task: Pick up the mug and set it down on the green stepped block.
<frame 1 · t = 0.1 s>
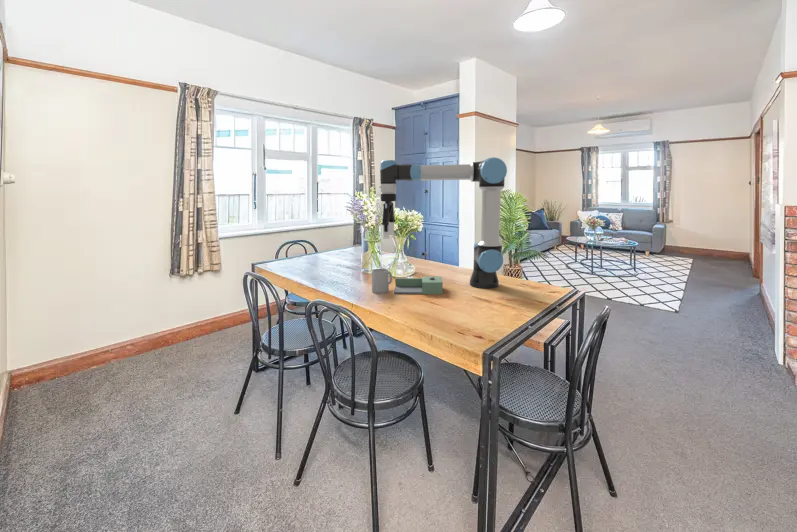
hand: (388, 236, 194), 28 cm above the table, fingers open, 13 cm apart
green stepped block: (420, 290, 199), on the table
mug: (383, 291, 200), on the table
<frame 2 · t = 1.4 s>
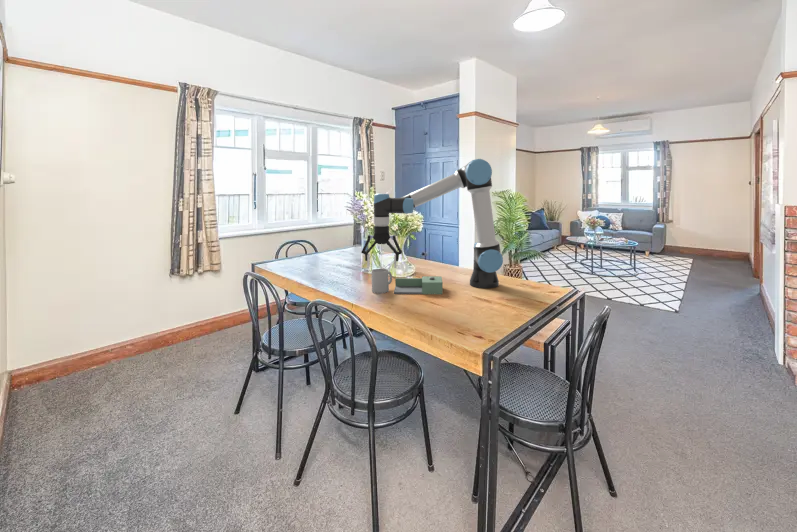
hand: (381, 267, 197), 12 cm above the table, fingers open, 13 cm apart
nothing on the table moved.
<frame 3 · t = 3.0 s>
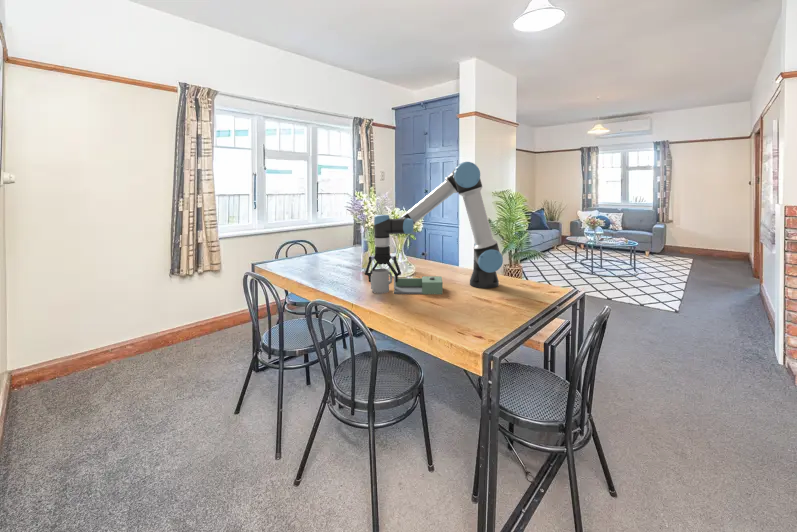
hand: (383, 288, 200), 1 cm above the table, fingers open, 11 cm apart
mug: (383, 291, 200), on the table, touching gripper
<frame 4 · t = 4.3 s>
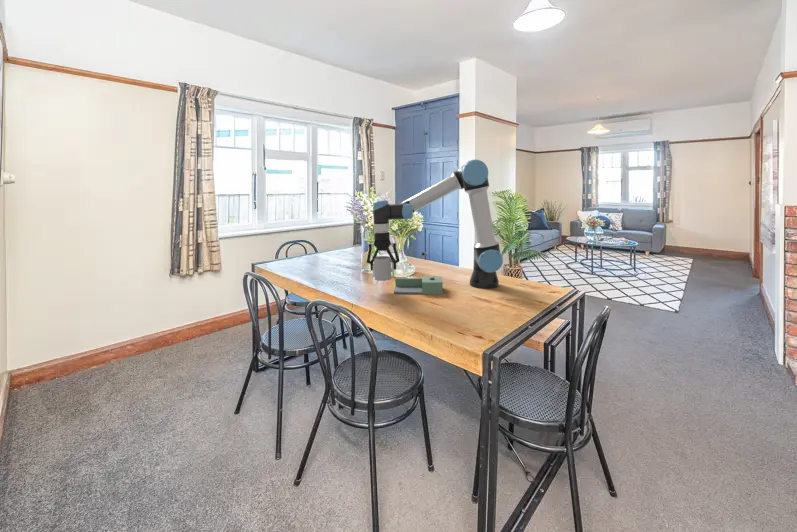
hand: (383, 276, 198), 8 cm above the table, fingers closed on mug, 9 cm apart
mug: (385, 278, 199), point 6 cm above the table, touching gripper
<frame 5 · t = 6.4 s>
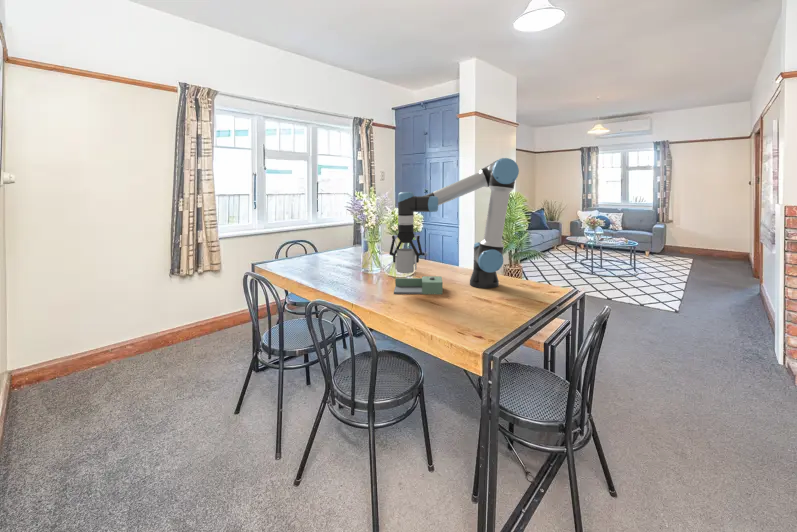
hand: (406, 268, 196), 11 cm above the table, fingers closed on mug, 9 cm apart
mug: (407, 271, 197), point 10 cm above the table, touching gripper
when the fingers open (3 cm above the table, at t = 8.7 s): mug stays where it is, resting on green stepped block.
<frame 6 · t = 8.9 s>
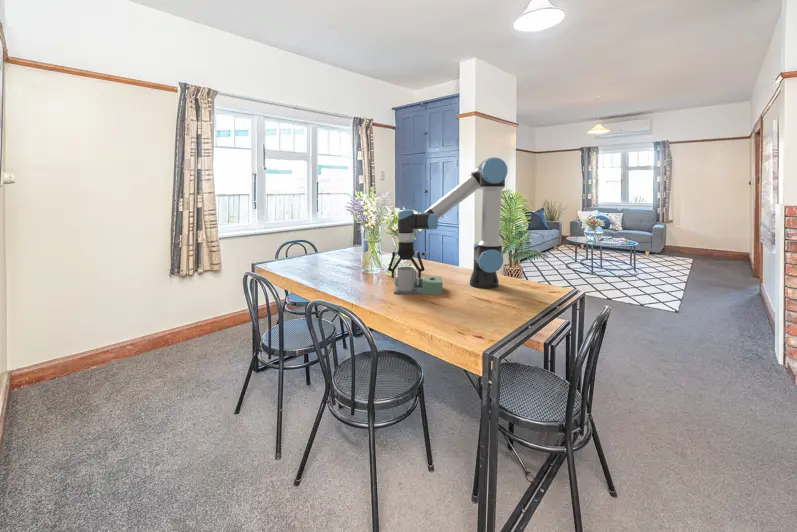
hand: (406, 284, 198), 3 cm above the table, fingers open, 11 cm apart
mug: (408, 289, 199), point 1 cm above the table, touching green stepped block
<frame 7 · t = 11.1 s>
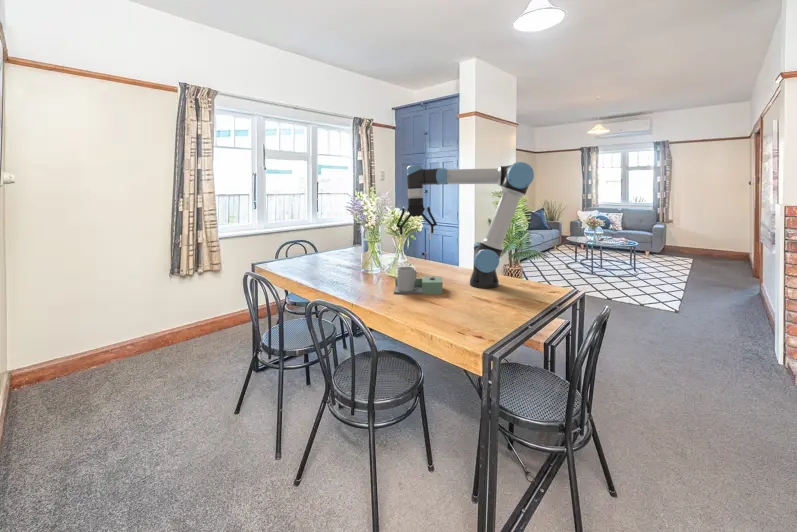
hand: (417, 240, 197), 25 cm above the table, fingers open, 13 cm apart
nothing on the table moved.
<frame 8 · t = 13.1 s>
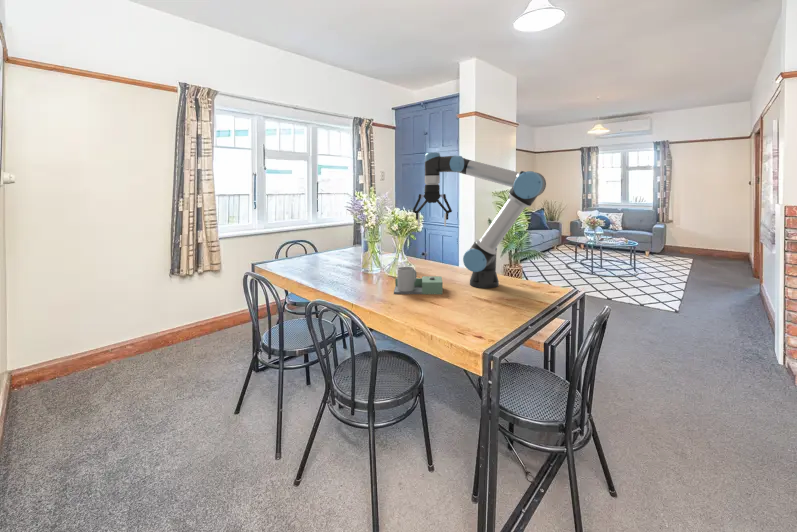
hand: (431, 226, 203), 32 cm above the table, fingers open, 13 cm apart
nothing on the table moved.
at the end: mug inside the target area (1.1 cm from its centre), point 0.8 cm above the table; mug tilted 0°; the gripper is holding nothing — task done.
